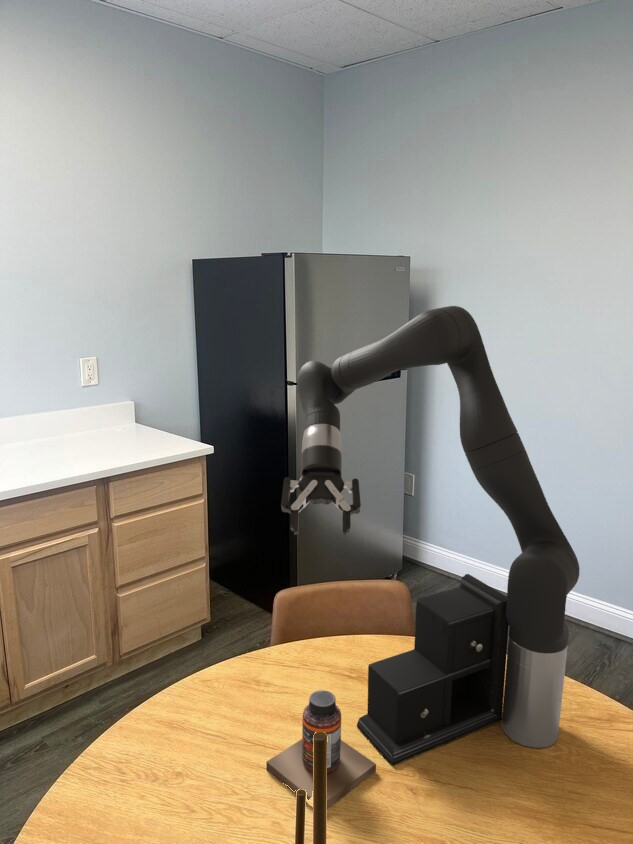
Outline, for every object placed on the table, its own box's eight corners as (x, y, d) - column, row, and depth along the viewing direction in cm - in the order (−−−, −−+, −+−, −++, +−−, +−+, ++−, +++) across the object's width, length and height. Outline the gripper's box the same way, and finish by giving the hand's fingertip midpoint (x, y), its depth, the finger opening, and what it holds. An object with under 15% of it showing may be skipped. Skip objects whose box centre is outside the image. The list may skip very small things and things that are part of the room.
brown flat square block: (321, 734, 112) (321, 726, 111) (375, 772, 103) (376, 763, 103) (266, 769, 104) (266, 761, 103) (320, 814, 95) (320, 805, 95)
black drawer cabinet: (391, 768, 104) (397, 631, 99) (355, 727, 114) (358, 600, 109) (503, 722, 115) (513, 597, 110) (461, 688, 125) (469, 572, 120)
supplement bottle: (293, 762, 103) (294, 697, 101) (319, 743, 107) (320, 680, 105) (322, 782, 99) (323, 715, 97) (348, 761, 103) (349, 696, 101)
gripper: (283, 442, 123) (279, 524, 115) (360, 444, 123) (361, 525, 114) (285, 462, 130) (281, 541, 121) (358, 463, 129) (359, 542, 121)
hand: (320, 533), depth 118 cm, fingers open, 8 cm apart
